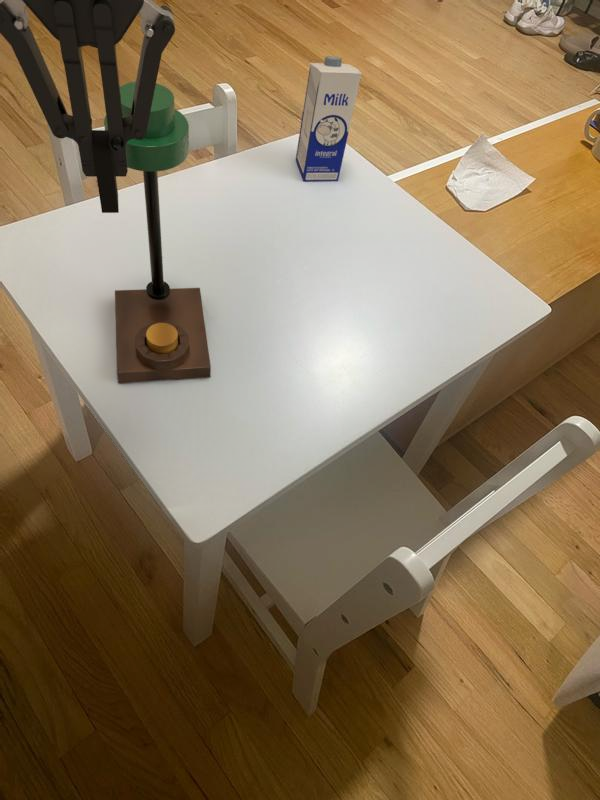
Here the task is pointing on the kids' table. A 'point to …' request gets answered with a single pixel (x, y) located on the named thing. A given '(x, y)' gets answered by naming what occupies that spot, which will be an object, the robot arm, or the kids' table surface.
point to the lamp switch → (162, 338)
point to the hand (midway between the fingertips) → (110, 203)
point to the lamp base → (143, 312)
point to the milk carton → (326, 119)
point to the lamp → (156, 166)
